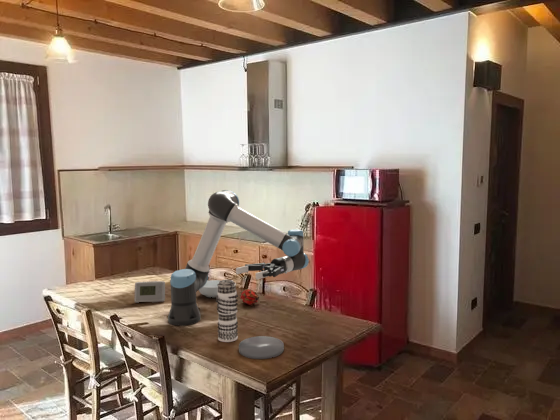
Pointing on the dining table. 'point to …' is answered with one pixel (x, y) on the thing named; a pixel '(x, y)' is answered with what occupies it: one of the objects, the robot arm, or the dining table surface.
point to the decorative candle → (227, 311)
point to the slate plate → (261, 347)
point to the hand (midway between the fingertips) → (245, 273)
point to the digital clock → (150, 291)
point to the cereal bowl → (210, 288)
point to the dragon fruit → (249, 297)
